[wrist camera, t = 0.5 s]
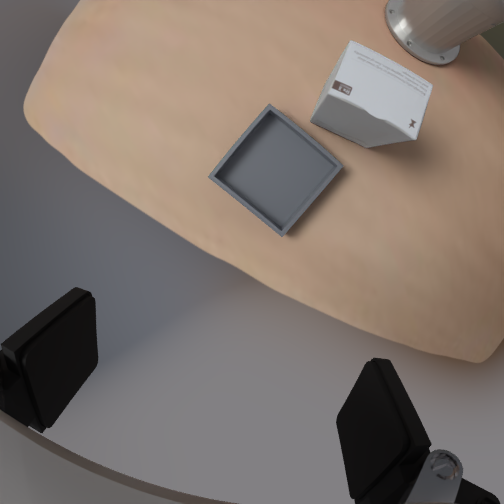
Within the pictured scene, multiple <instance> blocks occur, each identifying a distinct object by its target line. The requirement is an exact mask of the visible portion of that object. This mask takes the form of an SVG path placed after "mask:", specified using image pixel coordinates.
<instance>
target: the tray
mask: <svg viewBox="0 0 504 504" xmlns="http://www.w3.org/2000/svg"><path fill="white" fill-rule="evenodd" d="M342 167H343V165H342V164H341V163H340V162H339V161H338V160H337V159H336V158H335V157H333V156H332V155H331V154H330V153H329V152H328V151H327V150H326V149H324V148H323V147H322V146H321V145H320V144H319V143H317V142H316V141H315V140H314V139H313V138H312V137H310V136H309V135H308V134H307V133H306V132H305V131H303V130H302V129H301V128H300V127H298V126H297V125H296V124H295V123H294V122H292V121H291V120H290V119H289V118H287V117H286V116H285V115H284V114H282V113H281V112H280V111H278V110H277V109H276V108H275V107H273V106H272V105H271V104H268V105H267V107H266V108H265V109H264V110H263V111H262V112H261V113H260V115H259V116H258V117H257V118H256V119H255V120H254V121H253V123H252V124H251V125H250V126H249V127H248V128H247V130H246V131H245V132H244V133H243V134H242V135H241V137H240V138H239V139H238V140H237V141H236V143H235V144H234V145H233V146H232V147H231V149H230V150H229V151H228V152H227V154H226V155H225V156H224V157H223V158H222V160H221V161H220V162H219V163H218V165H217V166H216V167H215V168H214V170H213V171H212V172H211V173H210V175H209V176H208V178H210V179H211V180H212V181H213V182H215V183H216V184H217V185H218V186H220V187H221V188H222V189H223V190H225V191H226V192H227V193H228V194H230V195H231V196H232V197H233V198H235V199H236V200H237V201H238V202H240V203H241V204H242V205H243V206H245V207H246V208H247V209H248V210H250V211H251V212H252V213H253V214H254V215H256V216H257V217H258V218H259V219H261V220H262V221H263V222H264V223H265V224H267V225H268V226H269V227H270V228H271V229H273V230H274V231H275V232H276V233H278V234H279V235H280V236H281V237H283V236H284V235H285V233H286V232H287V231H288V230H289V229H290V228H291V226H292V225H293V224H294V223H295V222H296V221H297V220H298V218H299V217H300V216H301V215H302V214H303V213H304V211H305V210H306V209H307V208H308V207H309V206H310V204H311V203H312V202H313V201H314V200H315V199H316V198H317V196H318V195H319V194H320V193H321V192H322V191H323V189H324V188H325V187H326V186H327V185H328V184H329V182H330V181H331V180H332V179H333V178H334V177H335V175H336V174H337V173H338V172H339V171H340V170H341V168H342Z"/></svg>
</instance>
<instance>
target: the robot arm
mask: <svg viewBox="0 0 504 504" xmlns="http://www.w3.org/2000/svg"><path fill="white" fill-rule="evenodd" d="M385 18H386V22H387V25H388V27H389V30H390V31H391V33H392V35H393V36H394V38H395V39H396V40H397V41H398V43H399V44H400V45H401V46H402V47H403V48H404V49H405V50H406V51H408V52H409V53H410V54H411V55H413V56H414V57H416V58H418V59H419V60H421V61H424V62H426V63H429V64H433V65H444V64H447V63H449V62H451V61H453V60H454V59H455V58H456V57H457V56H458V53H459V51H460V44H462V43H464V42H465V41H467V40H469V39H471V38H473V37H475V36H477V35H478V34H480V33H482V32H484V31H486V30H488V29H490V28H492V27H494V26H496V25H498V24H500V23H502V22H504V0H389V1H388V3H387V5H386V8H385ZM95 307H96V306H95V298H94V297H92V294H91V292H89V291H86V290H83V289H81V288H78V287H75V288H73V289H72V290H71V291H69V292H68V293H67V294H65V295H64V296H63V297H61V298H60V299H58V300H57V301H55V302H54V303H53V304H51V305H50V306H49V307H47V308H46V309H45V310H43V311H42V312H41V313H39V314H38V315H37V316H36V317H34V318H33V319H32V320H30V321H29V322H28V323H27V324H25V325H24V326H23V327H22V328H20V329H19V330H18V331H16V332H15V333H14V334H13V335H11V336H10V337H9V338H8V339H6V340H5V341H4V342H3V343H2V344H1V346H2V350H1V351H0V504H237V503H231V502H225V501H219V500H214V499H208V498H204V497H199V496H195V495H190V494H186V493H182V492H178V491H175V490H171V489H167V488H164V487H160V486H157V485H154V484H151V483H147V482H144V481H141V480H139V479H136V478H133V477H130V476H127V475H125V474H122V473H119V472H117V471H114V470H112V469H109V468H107V467H104V466H102V465H100V464H97V463H95V462H93V461H90V460H88V459H86V458H84V457H82V456H80V455H78V454H76V453H73V452H71V451H69V450H68V449H65V448H64V447H62V446H60V445H58V444H56V443H54V442H52V441H51V440H49V439H47V438H45V437H43V436H42V435H40V434H38V433H36V432H35V431H33V430H31V429H30V428H28V426H30V427H32V428H34V429H35V430H37V431H38V432H40V433H43V431H44V430H45V429H46V428H50V427H52V425H53V424H54V423H55V421H56V420H57V419H58V417H59V416H60V414H61V413H62V412H63V410H64V409H65V408H66V406H67V405H68V404H69V402H70V400H71V399H72V398H73V397H74V395H75V394H76V393H77V391H78V390H79V389H80V388H81V386H82V385H83V384H84V382H85V381H86V380H87V378H88V377H89V376H90V374H91V373H92V372H93V371H94V369H95V368H96V366H97V363H98V349H97V336H96V335H97V334H96V308H95ZM336 424H337V429H338V434H339V439H340V444H341V449H342V454H343V459H344V465H345V470H346V476H347V482H348V487H349V492H350V497H351V498H352V499H355V504H500V502H499V500H498V498H497V497H496V496H495V495H493V494H492V493H490V492H488V491H486V490H484V489H482V488H480V487H478V486H476V485H475V484H472V483H471V482H469V481H467V480H465V479H463V478H462V475H463V467H462V463H461V462H460V460H459V459H458V458H457V456H456V455H454V454H452V453H451V452H449V451H447V450H441V449H438V450H434V451H432V452H431V453H430V450H429V447H430V446H431V442H430V440H429V438H428V435H427V433H426V431H425V429H424V427H423V425H422V422H421V420H420V418H419V416H418V414H417V412H416V410H415V408H414V406H413V404H412V402H411V400H410V398H409V396H408V394H407V392H406V390H405V388H404V386H403V384H402V382H401V380H400V378H399V376H398V375H397V372H396V371H395V369H394V367H393V365H392V363H391V361H390V360H388V359H381V358H373V359H372V360H371V361H368V362H367V363H366V364H365V366H364V368H363V370H362V372H361V374H360V375H359V377H358V379H357V381H356V383H355V385H354V387H353V389H352V390H351V392H350V394H349V396H348V398H347V400H346V402H345V403H344V405H343V407H342V408H341V410H340V412H339V414H338V416H337V421H336Z"/></svg>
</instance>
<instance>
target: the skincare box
mask: <svg viewBox="0 0 504 504" xmlns="http://www.w3.org/2000/svg"><path fill="white" fill-rule="evenodd" d="M432 87H433V85H432V84H430V83H429V82H428V81H426V80H424V79H423V78H421V77H420V76H418V75H416V74H415V73H413V72H411V71H410V70H408V69H406V68H405V67H403V66H401V65H399V64H398V63H396V62H394V61H392V60H390V59H389V58H387V57H385V56H383V55H381V54H379V53H377V52H375V51H373V50H371V49H369V48H367V47H365V46H363V45H361V44H359V43H356V42H354V41H352V40H350V42H349V43H348V45H347V46H346V48H345V50H344V51H343V53H342V54H341V56H340V58H339V60H338V62H337V64H336V65H335V67H334V69H333V71H332V72H331V74H330V76H329V78H328V79H327V81H326V83H325V85H324V87H323V90H322V92H321V94H320V97H319V99H318V101H317V104H316V106H315V109H314V111H313V114H312V116H311V119H310V122H312V123H313V124H316V125H318V126H320V127H322V128H325V129H327V130H329V131H331V132H333V133H335V134H338V135H340V136H342V137H344V138H346V139H348V140H350V141H353V142H355V143H357V144H359V145H361V146H363V147H365V148H370V147H375V146H381V145H386V144H392V143H398V142H405V141H412V140H416V139H417V137H418V133H419V130H420V127H421V124H422V121H423V118H424V115H425V111H426V108H427V104H428V101H429V97H430V94H431V91H432Z"/></svg>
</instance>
